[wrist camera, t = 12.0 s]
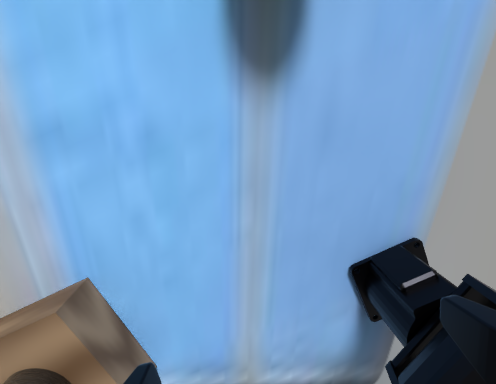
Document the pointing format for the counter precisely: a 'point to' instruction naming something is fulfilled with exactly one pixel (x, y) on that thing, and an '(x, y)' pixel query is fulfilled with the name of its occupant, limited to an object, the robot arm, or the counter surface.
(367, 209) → the counter surface
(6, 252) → the counter surface
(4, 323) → the walnut block
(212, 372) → the counter surface
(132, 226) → the counter surface
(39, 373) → the tea tin
